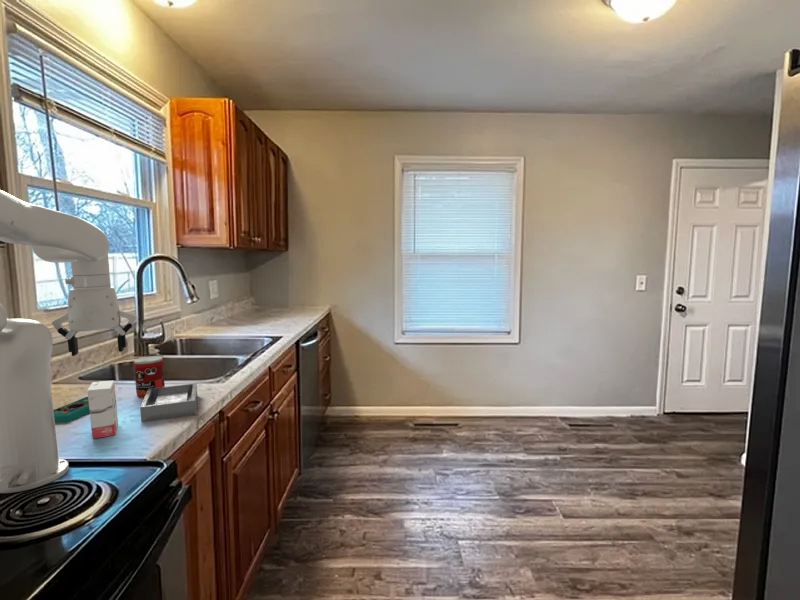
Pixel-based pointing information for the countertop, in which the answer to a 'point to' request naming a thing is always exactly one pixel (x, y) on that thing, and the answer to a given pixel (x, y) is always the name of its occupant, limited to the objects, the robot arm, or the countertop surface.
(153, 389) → the grey rimmed tray
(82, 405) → the digital multimeter
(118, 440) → the countertop surface
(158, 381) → the canned food
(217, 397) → the countertop surface
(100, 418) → the ink box
